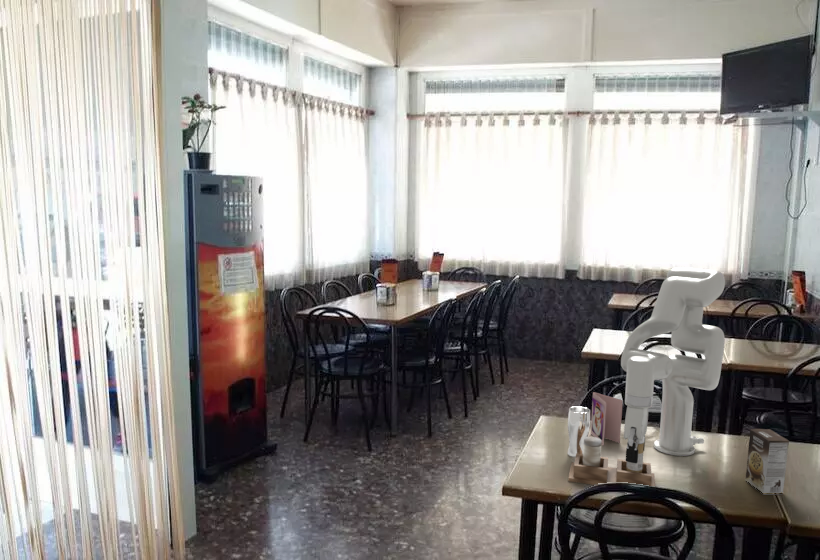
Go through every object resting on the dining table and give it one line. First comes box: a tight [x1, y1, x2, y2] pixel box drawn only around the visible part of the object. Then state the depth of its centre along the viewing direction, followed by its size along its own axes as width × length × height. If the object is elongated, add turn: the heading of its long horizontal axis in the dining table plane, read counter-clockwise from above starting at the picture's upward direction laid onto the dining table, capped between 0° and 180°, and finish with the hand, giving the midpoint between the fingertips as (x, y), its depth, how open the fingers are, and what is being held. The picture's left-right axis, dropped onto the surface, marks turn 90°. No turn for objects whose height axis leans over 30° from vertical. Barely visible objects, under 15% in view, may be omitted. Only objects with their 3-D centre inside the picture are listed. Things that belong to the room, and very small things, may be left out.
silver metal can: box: [567, 405, 591, 459], centre depth 214 cm, size 7×7×15 cm
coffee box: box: [745, 428, 790, 494], centre depth 193 cm, size 9×6×16 cm
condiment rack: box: [567, 436, 656, 486], centre depth 197 cm, size 24×12×11 cm, turn 72°
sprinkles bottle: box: [626, 435, 646, 473], centre depth 195 cm, size 5×5×14 cm
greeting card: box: [590, 391, 624, 447], centre depth 227 cm, size 11×7×15 cm, turn 6°
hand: (635, 456), depth 195 cm, fingers open, 9 cm apart
